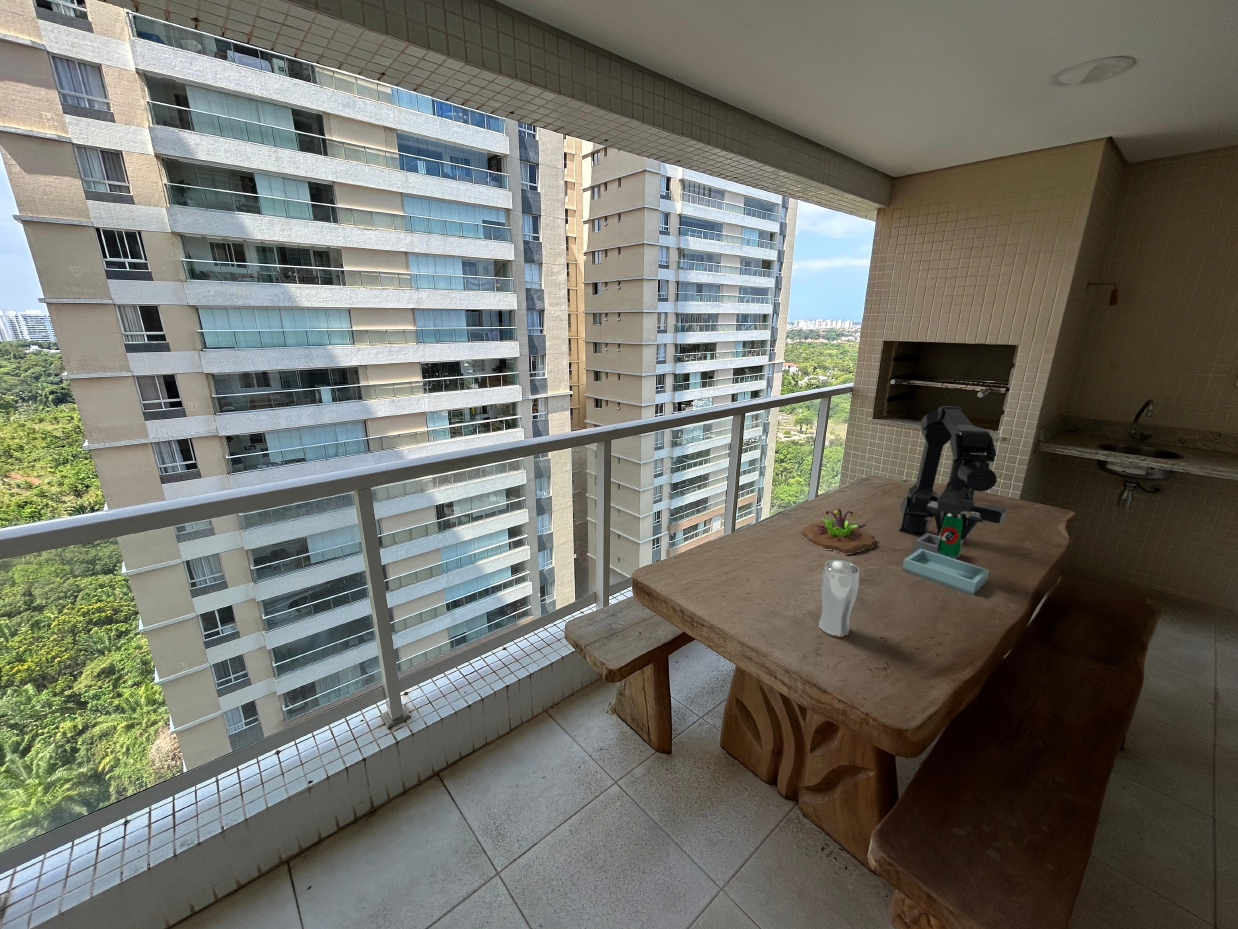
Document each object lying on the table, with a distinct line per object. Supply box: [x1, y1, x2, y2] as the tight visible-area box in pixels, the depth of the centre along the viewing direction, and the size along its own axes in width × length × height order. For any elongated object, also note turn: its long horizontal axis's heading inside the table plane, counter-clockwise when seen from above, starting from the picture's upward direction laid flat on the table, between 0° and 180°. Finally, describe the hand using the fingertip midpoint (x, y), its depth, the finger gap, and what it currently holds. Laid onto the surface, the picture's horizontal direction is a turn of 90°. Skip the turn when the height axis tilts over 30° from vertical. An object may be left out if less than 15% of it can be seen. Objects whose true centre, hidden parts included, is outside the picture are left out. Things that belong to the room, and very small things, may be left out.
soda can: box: [937, 511, 969, 558], centre depth 118 cm, size 5×5×12 cm
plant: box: [800, 508, 876, 554], centre depth 142 cm, size 20×20×11 cm
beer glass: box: [818, 559, 861, 636], centre depth 97 cm, size 7×7×15 cm
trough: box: [902, 549, 990, 596], centre depth 120 cm, size 16×11×3 cm
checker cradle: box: [912, 532, 961, 560], centre depth 133 cm, size 9×9×4 cm
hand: (951, 536), depth 118 cm, fingers closed on soda can, 5 cm apart
